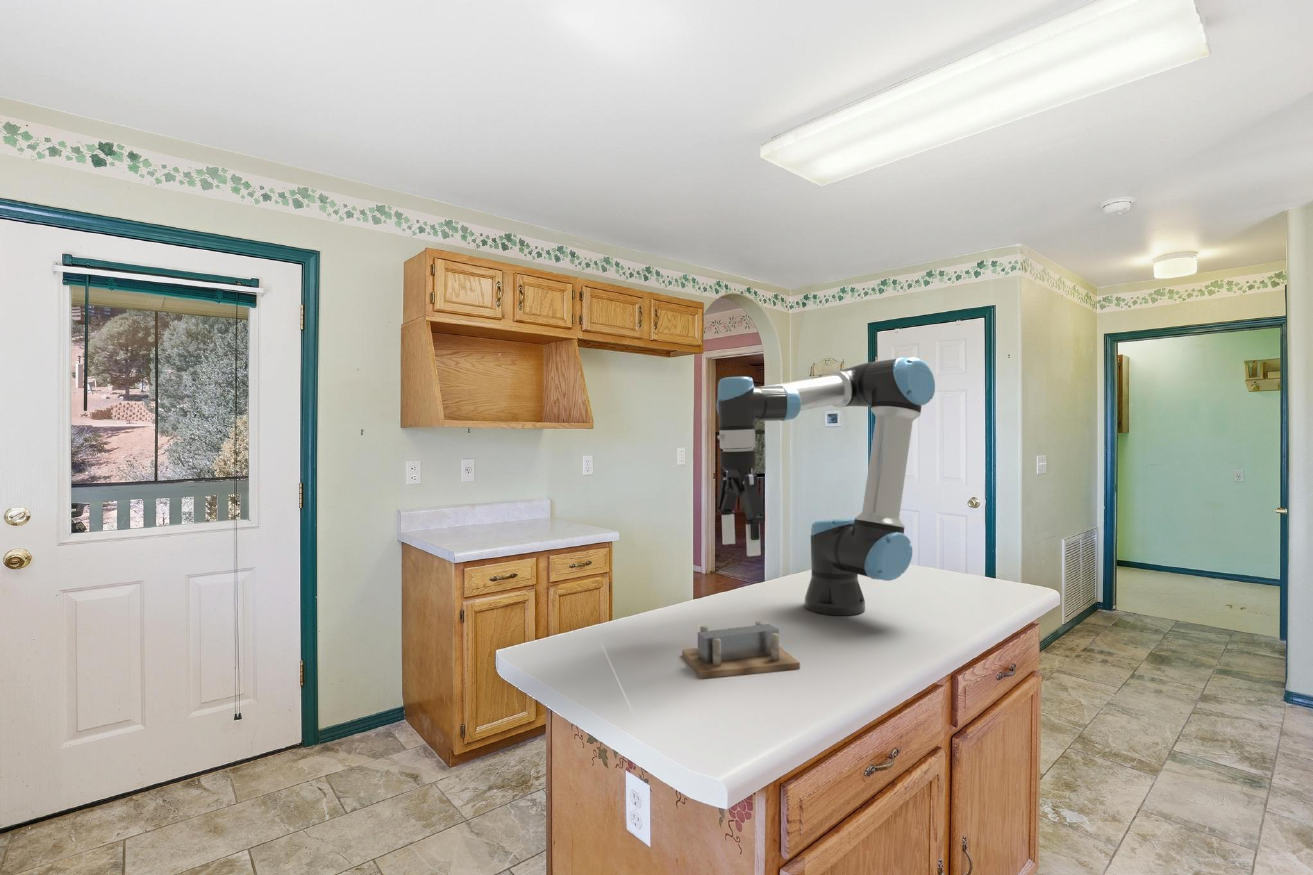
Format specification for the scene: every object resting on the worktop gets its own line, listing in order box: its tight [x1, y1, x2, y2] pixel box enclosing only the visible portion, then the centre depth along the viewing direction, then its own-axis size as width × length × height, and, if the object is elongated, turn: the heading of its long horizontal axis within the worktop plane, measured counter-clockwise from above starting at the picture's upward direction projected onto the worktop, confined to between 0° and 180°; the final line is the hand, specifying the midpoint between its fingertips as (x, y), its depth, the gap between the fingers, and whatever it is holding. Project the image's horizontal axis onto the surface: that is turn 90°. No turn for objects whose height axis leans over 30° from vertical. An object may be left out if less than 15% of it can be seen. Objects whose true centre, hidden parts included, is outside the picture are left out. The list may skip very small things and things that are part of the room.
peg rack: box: [681, 621, 801, 680], centre depth 128 cm, size 20×13×6 cm, turn 103°
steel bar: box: [697, 623, 780, 664], centre depth 128 cm, size 16×4×5 cm, turn 109°
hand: (740, 549), depth 137 cm, fingers open, 13 cm apart
